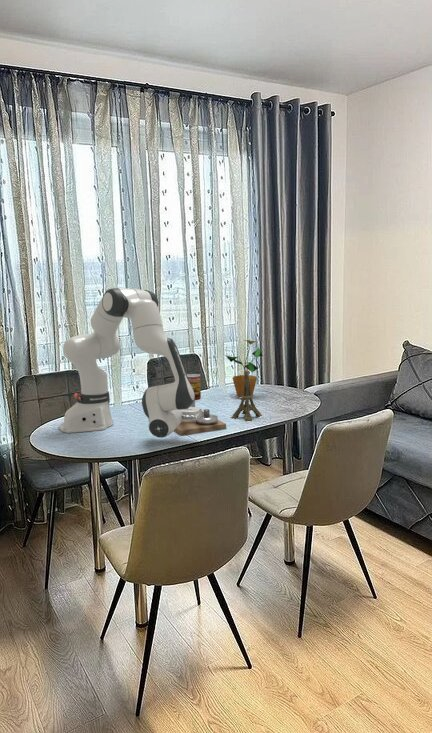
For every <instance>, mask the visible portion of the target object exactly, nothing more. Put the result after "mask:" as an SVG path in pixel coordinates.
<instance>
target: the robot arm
mask: <svg viewBox="0 0 432 733" xmlns="http://www.w3.org/2000/svg"><path fill="white" fill-rule="evenodd" d="M124 318H125V319H126V318H127V319H128V318H129V319H130V321H131V327H132V328H131V329H132V334H133V336H132V337H133V339H134V342H135V343H134V344H135V345H136V347H137V348H138V349H140V350H141V351H143V352H144V353H147V354H151V355H159V356H162V357H165V358H166V359H167V361H168V363H169V366H170V369H171V372H172V375H173V377H174V381H173V382H171V383H166V384H162V385H159V384H158V385H155V386H151V387H150V386H149V387H146V389H145V391H144V392H143V395H142V398H141V406H142V410H143V412H144V415H145V416H146V417H147V418H148V419H147V420H148V430H149V432H150V434H151V435H152V436H154V437H156V438H166V437H168V436H169V435H171V434H173V432H175V431H174V430H175V429H176V428H177V427H178V426H179V424H180V423H181V422H182V420H197V419H199V418H200V417H201V415H202V411H203V410H202V408H201V407H200V406H195V407H190V406H191V405H192V403H193V402H194V400H195V397H194V391H193V389H192V387H191V384H190V382H189V380H188V377H187V374H188V373H187V371H186V369H185V365H184V362H183V360H182V358H181V355H180V352H179V349H178V347H177V345H176V343H175V341H174V340H173V339H172V338H170V337H169V336H167V335H166V332H165V331H164V330H165V329H164V326H163V320H162V316H161V313H160V310H159V299H158V297H157V294H155V293H154V292H153V291H151V290H146V289H139V288H133V287H132V288H127V287H125V288H124V287H123V288H120V287H110V288H109V289H107V290H105V292H104V294H103V296H102V298H101V299H100V300H99V302H98V304H97V306H96V308H95V310H94V312H93V314H92V316H91V318H90V327H91V329H92V330H93V332H91V333H86V334H79V335H74V336H72V337H69V338H67V339H66V340H65V341H64V343H63V348H62V349H63V350H62V352H63V354H64V357H65V358H66V359H67V360H68V361H69V362H70V363H72V364H73V365H74V366H75V368H76V370H77V372H78V375H79V380H80V391H81V392H80V393H79V394H78V393H77V392H75V393H74V394H73V397H74V399H76V402H75V403H74V404H73V405H72V406H71V407H70V408H68V409H67V410H66V411H65V413H64V417H63V422H61V423H59V424H58V428H59V429H58V430H60V431H61V432H62V433H66V434H70V433H81V432H85V433H86V432H94V431H103V430H105V429H107V428H109V427H111V426H113V425H114V420H113V417H112V414H111V408H110V404H111V403H110V402H111V398H110V391H109V386H108V385H109V384H108V374H107V373H106V371H105V370H104V369H102V368H100V367H99V366H98V363H97V360H101V359H102V360H103V359H108V358H110V357H112V356H114V355H116V354H118V353H119V351H120V347H121V343H120V339H119V337H118V335H117V334H116V333H117V332H118V331H117V330H118V329H119V327H120V326H121V325H120V324H121V322H123V319H124ZM195 401H196V400H195Z"/></svg>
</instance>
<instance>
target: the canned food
mask: <svg viewBox="0 0 432 733" xmlns="http://www.w3.org/2000/svg"><path fill="white" fill-rule="evenodd" d="M186 374H187V377H188V380H189V382H190V384H191V387H192V389H193V391H194V393H195V401H199V400H201V399H202V398H201V397H202V396H201V394H202V392H201V391H202V390H201V388H202V387H201V385H202V384H201V374H198V373H186Z"/></svg>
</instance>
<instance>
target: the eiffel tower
mask: <svg viewBox="0 0 432 733" xmlns="http://www.w3.org/2000/svg"><path fill="white" fill-rule="evenodd" d="M243 371H244V370H243ZM244 374H245V379H244V388H243V395H241V397H242V398H241V401H240V403H239V404H238V408H237V409H236V410H235V412H234V413H233V414H232V416H230V419H233V418H234V419H233V420H236V418H237V419H238V417H239V418H240V415H242V414H246V415H245V419H244V420H245V421H244V422H247V421H251V422H253V421H254V419H253V416H252V415H251V413H250V412H251V411H252V412H253V413H254V414H255V415H254V416H257V417H260V416H263V415H262V413H261V412H260V411H259V410H258V408H257V407H256V404H255V403H254V400H253V397H254V396H253V395H254V394H253V395H251V389H250V382H249V375H250V374H251V371H250V370H248V369H247V366H246V367H245V371H244V372H243V375H244ZM257 417H256V418H257ZM252 420H253V421H252Z"/></svg>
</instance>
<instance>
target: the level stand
mask: <svg viewBox="0 0 432 733" xmlns="http://www.w3.org/2000/svg"><path fill="white" fill-rule="evenodd" d="M203 414H204V410H202V415H203ZM219 430H220V431H221V430H227V424H226V423H225V422H224V421H221V420H220V419H218V422H217V423H215V424H210V425H202V424H198V423H196V420H182V422H181V423H180V424H179V426H178V427H177V428H176V429H175V430H174V431H173V432H175V433H177V434H179V436H188V435H194V434H202V433H207V432H214V431H219Z"/></svg>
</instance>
